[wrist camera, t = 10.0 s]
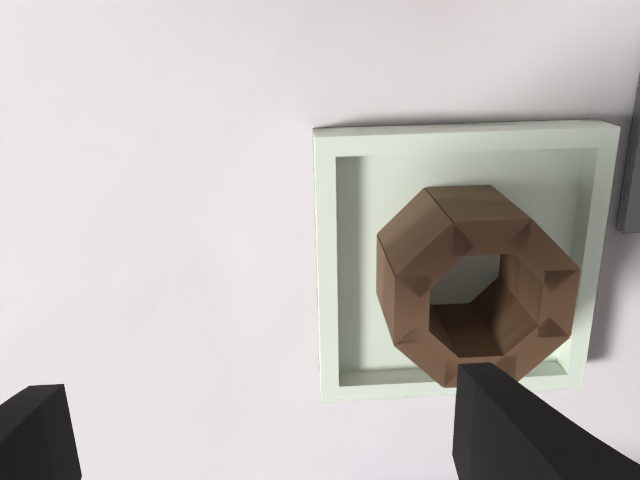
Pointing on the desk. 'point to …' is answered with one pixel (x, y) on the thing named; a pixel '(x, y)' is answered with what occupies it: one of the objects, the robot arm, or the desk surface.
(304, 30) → the desk surface
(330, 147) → the tray
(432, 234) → the collar
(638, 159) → the grey peg stand
